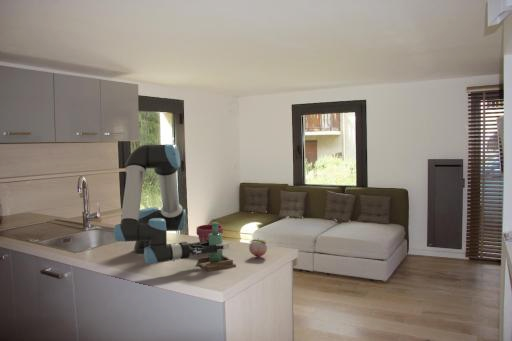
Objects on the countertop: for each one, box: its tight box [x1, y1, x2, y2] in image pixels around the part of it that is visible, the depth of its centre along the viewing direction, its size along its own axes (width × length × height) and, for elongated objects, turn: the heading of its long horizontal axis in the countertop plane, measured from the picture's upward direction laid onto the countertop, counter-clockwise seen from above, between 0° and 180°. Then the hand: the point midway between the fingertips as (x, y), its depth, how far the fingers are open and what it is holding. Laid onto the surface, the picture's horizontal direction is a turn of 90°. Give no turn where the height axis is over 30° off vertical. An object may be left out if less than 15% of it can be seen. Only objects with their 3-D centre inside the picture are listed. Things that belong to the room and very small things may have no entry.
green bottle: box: [208, 221, 224, 263], centre depth 192 cm, size 6×6×18 cm
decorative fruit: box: [248, 239, 268, 258], centre depth 205 cm, size 9×8×10 cm
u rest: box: [196, 254, 237, 272], centre depth 193 cm, size 14×14×3 cm
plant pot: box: [196, 224, 224, 242], centre depth 221 cm, size 14×14×13 cm
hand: (225, 244), depth 195 cm, fingers closed on green bottle, 6 cm apart
